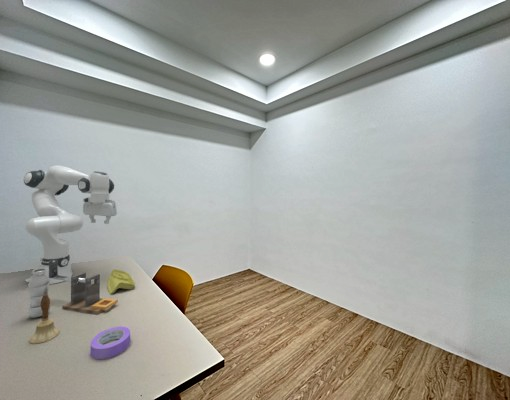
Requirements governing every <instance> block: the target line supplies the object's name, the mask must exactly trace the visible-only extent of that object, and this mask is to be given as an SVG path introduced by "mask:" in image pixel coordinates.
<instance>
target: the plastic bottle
mask: <svg viewBox="0 0 510 400" xmlns="http://www.w3.org/2000/svg"><path fill="white" fill-rule="evenodd" d="M45 274H46V272H45V269H38V270H35V271H34V272H33V276H34V277H33V278H32V279H31V280H30V282H29V283H27V285H28V291H29V296H30V303H29V308H28V312H27V313H28V316H29V318H32V319H36V318H42V309H41V306H40V303H41V299H42V297H43V295H44V294H48V295H49V288H50V284H49V283H50V280H49V278H48V277H47V276H46V275H45ZM50 309H51V305H50V306H49V309H48V313H49V312H50Z"/></svg>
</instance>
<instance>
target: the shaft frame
mask: <svg viewBox="0 0 510 400" xmlns="http://www.w3.org/2000/svg"><path fill="white" fill-rule="evenodd" d="M77 278H86V279H85V283H80V282H77ZM92 281H93V283H92ZM100 285H101V275H100V274H99V273H96V274H94V275H91V276H89V277H87V272H81V273H78V274H76V275H72V277H71V281H70V302H68V303H66V304H64V305H62V306H61V307H62V308H61V309H62V310H65V311H72V312H77V313H84V314H90V315H100V314H102V312H104V311H105V310H104V309H94V308H92V305H94V304H96V303H97V302H99V301H101V300H103V299H104V298H102V297H100V295H101V294H100V293H101V291H100V289H101V287H100ZM107 304H108V303H103V304H102V305H107ZM115 304H117V303H115ZM115 304H114V305H115Z"/></svg>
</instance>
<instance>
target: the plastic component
mask: <svg viewBox="0 0 510 400" xmlns="http://www.w3.org/2000/svg"><path fill="white" fill-rule="evenodd" d="M135 284H136V283H135V281H134V279H133V278H132V275H130V274H129V273H128V272H126V271H123V270H120V269H112V271H111V273H110V275H109V276H108V280H107V285H106V286H107V290H108V293H109V294H110V295H113V294H114V293H116V291H117V290H118V289H124V290H133V289H134V287H135V286H136V285H135Z"/></svg>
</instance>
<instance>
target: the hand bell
mask: <svg viewBox="0 0 510 400" xmlns="http://www.w3.org/2000/svg"><path fill="white" fill-rule="evenodd" d="M40 306H41V309H42V316H41V321H39V322H38V323H37V324H36V329H35V332H34V334H33V335H31V337H30V338H29V339H28V343H29V344H32V345H33V344H34V345H35V344H36V345H37V344H42V343H45V342H48V341H50V340H53V339H54V338H56V337H57V336H58V335H59V334H60V332H61V330H60V329H59V328H58V327H56V326H55V324H54V323H55V322H54V319H51V318H49V312H48V309H49V306H50V307H51V299H50V297H49V293H48V294H44V295H43V297H42V299H41V303H40Z"/></svg>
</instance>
